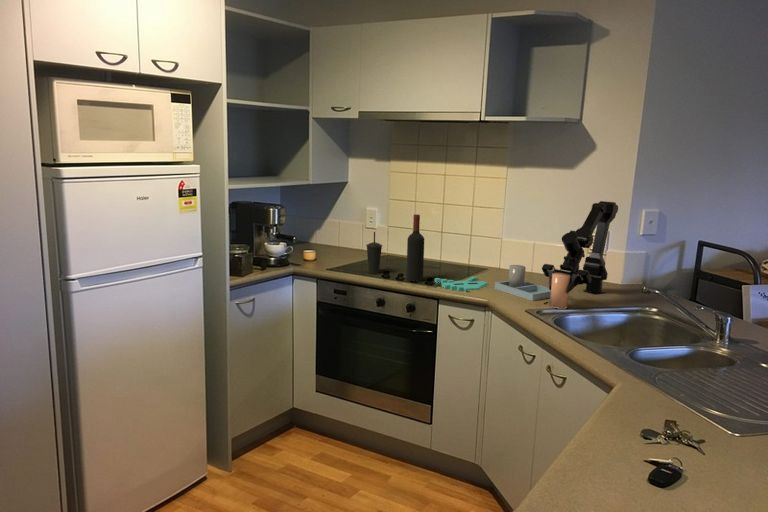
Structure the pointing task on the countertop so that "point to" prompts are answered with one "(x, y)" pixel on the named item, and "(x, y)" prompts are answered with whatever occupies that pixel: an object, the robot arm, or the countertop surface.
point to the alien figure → (462, 284)
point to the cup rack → (525, 290)
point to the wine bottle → (415, 253)
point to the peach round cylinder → (559, 290)
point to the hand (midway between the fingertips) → (558, 291)
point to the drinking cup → (374, 256)
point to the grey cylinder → (516, 276)
